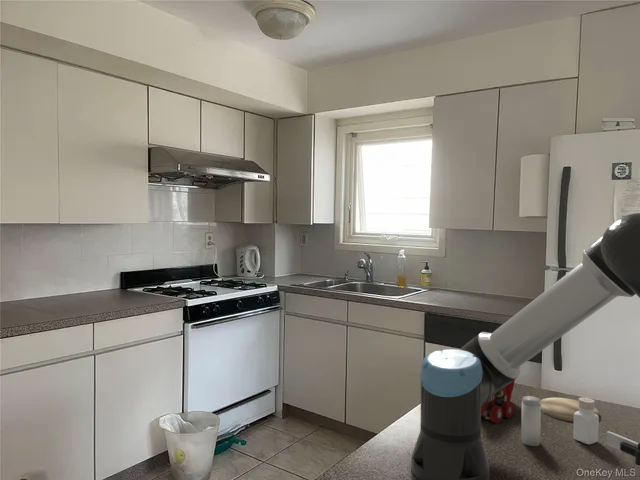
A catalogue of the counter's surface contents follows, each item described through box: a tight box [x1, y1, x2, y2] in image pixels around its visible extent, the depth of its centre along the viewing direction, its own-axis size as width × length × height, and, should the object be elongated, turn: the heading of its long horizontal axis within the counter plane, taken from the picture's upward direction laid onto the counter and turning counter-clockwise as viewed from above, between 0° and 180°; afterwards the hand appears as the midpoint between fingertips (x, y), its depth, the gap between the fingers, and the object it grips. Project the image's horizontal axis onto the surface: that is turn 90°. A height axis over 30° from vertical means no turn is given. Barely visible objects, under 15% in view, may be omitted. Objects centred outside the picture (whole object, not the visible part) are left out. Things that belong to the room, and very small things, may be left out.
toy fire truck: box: [481, 387, 514, 424], centre depth 123 cm, size 7×12×10 cm, turn 130°
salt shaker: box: [520, 395, 542, 447], centre depth 108 cm, size 4×4×10 cm
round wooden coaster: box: [540, 397, 600, 423], centre depth 126 cm, size 14×14×1 cm
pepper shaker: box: [572, 397, 600, 446], centre depth 109 cm, size 4×4×10 cm
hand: (627, 431), depth 101 cm, fingers open, 13 cm apart
